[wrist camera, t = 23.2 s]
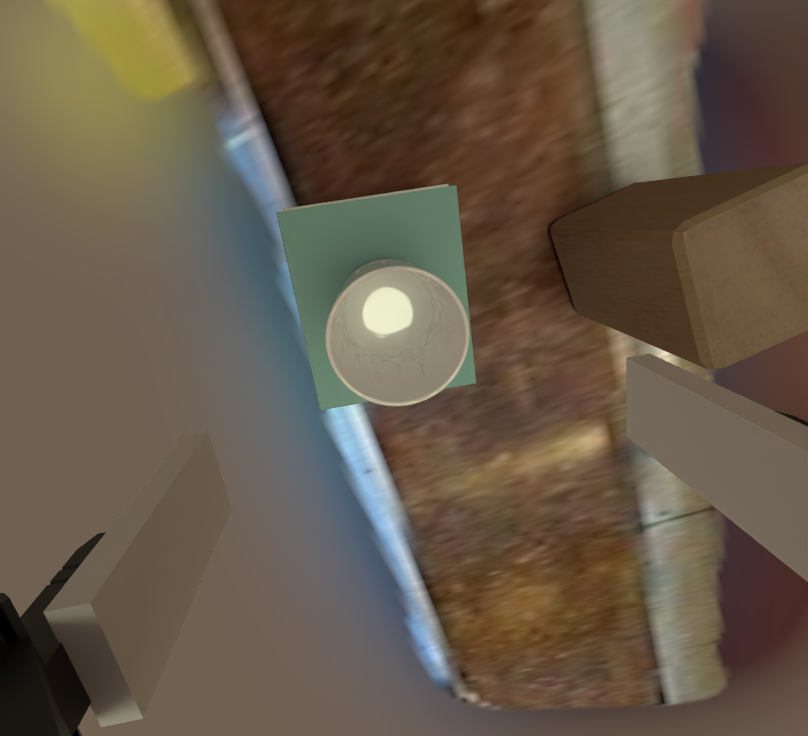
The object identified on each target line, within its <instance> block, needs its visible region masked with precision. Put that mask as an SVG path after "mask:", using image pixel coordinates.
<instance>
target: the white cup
mask: <svg viewBox="0 0 808 736" xmlns="http://www.w3.org/2000/svg"><path fill="white" fill-rule="evenodd" d="M469 337H470V331H469V322H468V318H467V314H466V311H465V309H464V306H463V304H462V302H461V301H460V299H459V297H458V296H457V294H456V293H455V292H454V291H453V290H452V288H451V287H450V286H449V285H448V284H446V283H445V282H444V281H443V280H441V279H440V278H439V277H437V276H435V275H433V274H432V273H429V272H427V271H426V270H424V269H422V268H420V267H418V266H416V265H413V264H411V263H408V262H405V261H401V260H394V259H391V258H388V259H382V260H375V261H369V262H368V263H366V264H365V265H363V266H362V267H361V268H359V269H358V270H356V271H355V272H353V273H352V274H351V276H350V277H349V278H348V280H347V281H346V282H345V284H344V285H343V287H342V288H341V290H340V292H339V294H338V296H337V298H336V300H335V303H334V305H333V307H332V309H331V312H330V314H329V317H328V321H327V326H326V336H325V340H326V349H327V354H328V358H329V361H330V363H331V365H332V368H333V370H334V371H335V373H336V375H337V376H338V377H339V379H340V380H341V381H342V382H343V384H344V385H345V386H346V387H347V388H349V389H350V390H351V391H352V392H354V393H355V394H357V395H358V396H360V397H362V398H364V399H366V400H368V401H370V402H373V403H377V404H381V405H387V406H405V405H411V404H415V403H419V402H421V401H424V400H426V399H429V398H431V397H432V396H434V395H436V394H437V393H439V392H440V391H441V390H443V389H444V388H445V387H446V386H447V385H448V384H449V383H450V382H451V381H452V380H453V379H454V378H455V376H456V375H457V373H458V372H459V370H460V369H461V367H462V365H463V363H464V360H465V358H466V355H467V351H468V346H469Z"/></svg>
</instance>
